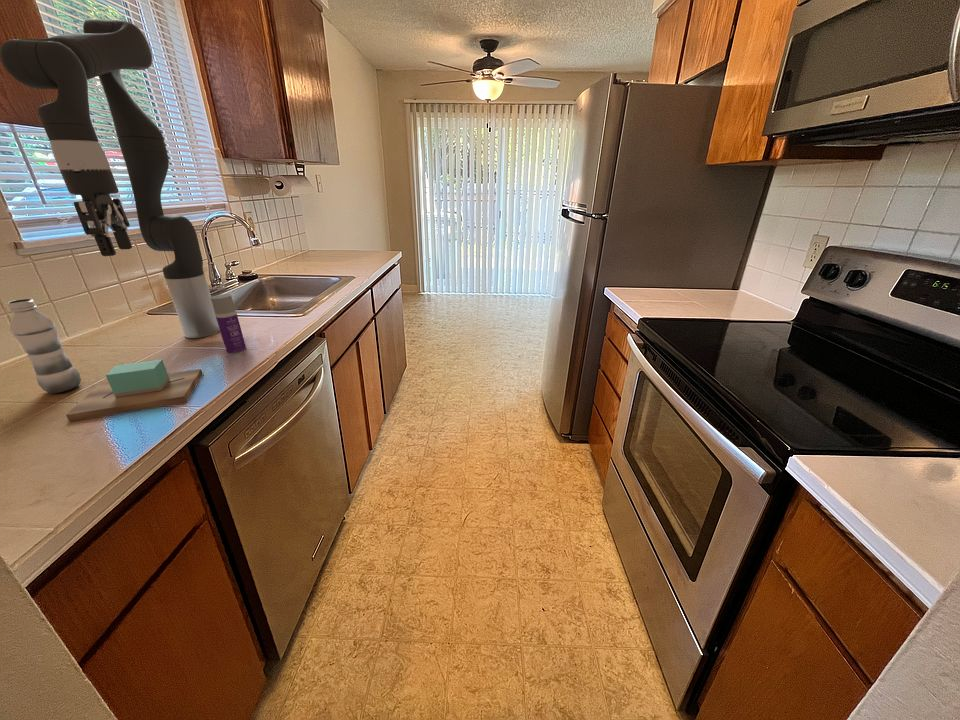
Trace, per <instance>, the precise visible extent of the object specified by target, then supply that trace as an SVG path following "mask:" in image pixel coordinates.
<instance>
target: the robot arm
mask: <svg viewBox="0 0 960 720" xmlns="http://www.w3.org/2000/svg"><path fill="white" fill-rule="evenodd" d="M82 31H83V32H82V33H81V32H79V33H78V32H77V33H75V32H74V33H64V34H57V35H53V36H51V37H45V38H13V39H9V40H5V41H4V42H3V43H2V44H1V45H0V60H1V64H2V65H3V68H4V69H5V70H6V71H7V72H8V74H9V75H10V76H11V77H12V78H14V79H15V80H16V81H18V82H19V83H21V84H22V85H24V86H26V87H29V88H31V89H37V90H57V97H56V99H55V100H54V101H52V102H49V103H44V104H41V105H39V106H38V108H37V112H38V114H37V115H38V116H39V119H40V121H41V124H42V126H43V129H44V131H45V134H46V136H47V138H48V141H49V144H50V147H51V150H52V154H53V158H54V160H55V162H56V164H57V167H58V169H59V173H60V174H61V177H62V179H63V182H64V184H65V186H66V189H67V191H68V193H69V194H71V195H74V196H76V195H77V196H78V195H79V196H80V197H81V201H74V202H73V206H74V208H75V210H76V213H77V216H78V219H79V221H80V223H81V224H80V225H81V226H82V228H83V231H84V234H85V235H88V236H89V235H90V236H91V238H94V240H95V242H96V245H97V247H98V249H99V252H100V254H101V256H102V257H113V256H116V255H117V252H116V249H115V246H114V245H113V241H112V239H111V236H110V235H109V233H110V232H109V228H110V230H111V231H112V233H113V237H114V239H115V241H116V244H117V247H118V248H119V250H130V249H133V245H132V243H131V239H130V237H129V234H128V228H130V226H131V225H130V222H129V219H128V217H127V215H126V212H125V210H124V207H123V205H122V202H121V200H120V198H118V197H116V198H115V197H114V198H113V197H111V195H112V194H118V193H119V189H118V185H117V182H116V180H115V178H114V174H113V172H112V169H111V166H110V164H109V161H108V158H107V156H106V154H105V152H104V150H103V148H102V146H101V143H100V141H99V137H98V136H97V133H96V130H95V127H94V124H93V122H92V121H91V113H90V112H91V111H90V103H89V102H90V101H89V89H88V87H89V85H88V81H89V80H92V79H95V78H97V77H98V79H99V81H100V83H101V87H102V89H103V92H104V95H105V98H106V102H107V104H108V105H107V106H108V108H109V112H110V115H111V117H112V122H113V126H114V129H115V133H116V137H117V141H118V144H119V148H120V150H121V153H122V157H123V160H124V163H125V166H126V170H127V174H128V178H129V181H130V186H131V189H132V193H133V199H134V204H135V210H136V215H137V220H138V226H139V231H140V233H141V236H142V238H143V241H144V242H145V244H146V245H147V246H148V247H149V249H151V250H154V251H155V252H173V253H174V260H173V262H172V263H170V264H169V263H168V264H167V265H165V266H163V267H162V274H163V277H164V279H165V282H166V285H167V288H168V290H169V294H170V297H171V300H172V302H173V306H174V309H175V310H176V311H175V312H176V314H177V317H178V320H179V323H180V326H181V329H182V332H183V335H184V337H185V338H188V339H199V338H205V337H209V336H213V335H215V334H218V333H219V332H220V329H219V326H218V323H217V319H216V316H215V312H214V309H213V305H212V301H211V297H212V295H211V291H210V288H209V285H208V283H207V279H206V276H205V275H206V274H205V272H204V259H203V255H202V252H201V248H200V243H199V238H198V234H197V232H196V230H195V227H194V225H193V223H192V222H191V221H190V220H189V218H187V217H185V216H183V215H178V214H177V215H174V214H173V215H165V214H164V210H163V206H162V199H161V198H162V196H161V195H162V190H163V186H164V184H165V180H166V178H167V174H168V171H169V167H170V166H169V165H170V163H169V162H170V160H169V154H168V150H167V145H166V142H165V139H164V135H163V133H162V131H161V130H160V128H159V127H158V125H157V124H156V123H155V121H153V119H152V118H151V117H150V116H149V114H147V113H146V111H144V110H143V108H142V107H141V106H140V105H139V104H138V103H137V101H136V100H135V99H134V98H133V96H132V95H131V94H130V92H129V90H128V89H127V88H128V87H126V84H125V81H124V79H123V77H122V73H121V70H128V71H142V70H143V71H144V70H148V69H149V68H151V66H152V64H153V62H154V61H153V52H152V48H151V46H150V42H149V40H148V38H147V36H145V35H146V34H144V32H143V31H142V30H141V29H140V28H139V27H138V26H137V25H135V24H133V23H132V22H129V21H126V20H119V19H106V18H105V19H104V18H103V19H102V18H86V19H85V20H84V21H83V23H82Z"/></svg>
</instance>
